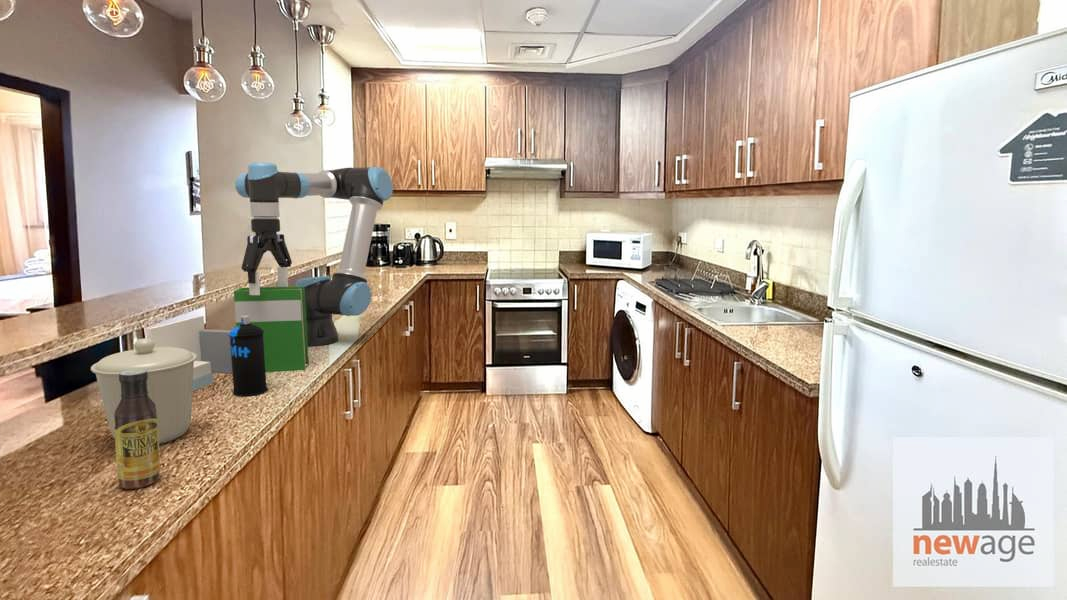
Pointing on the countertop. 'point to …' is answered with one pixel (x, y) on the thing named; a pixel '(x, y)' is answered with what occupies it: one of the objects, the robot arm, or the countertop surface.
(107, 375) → the canister
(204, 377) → the book stack block
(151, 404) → the sauce bottle
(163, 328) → the shelf back board
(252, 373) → the aerosol can
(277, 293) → the hardback book
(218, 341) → the bookend
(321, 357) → the countertop surface
